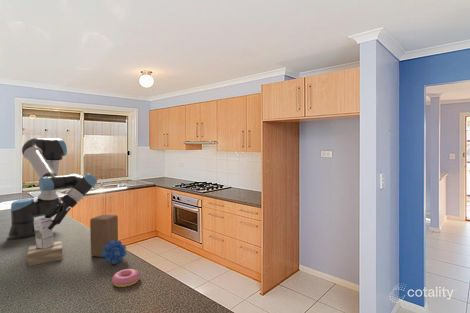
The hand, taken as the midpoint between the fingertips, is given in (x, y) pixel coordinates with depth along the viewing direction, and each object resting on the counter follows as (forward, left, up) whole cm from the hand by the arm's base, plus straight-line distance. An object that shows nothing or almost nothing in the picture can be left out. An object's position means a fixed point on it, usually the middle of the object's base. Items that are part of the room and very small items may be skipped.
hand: (39, 231), depth 136 cm
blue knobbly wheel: (+35, +23, -14) cm, 44 cm away
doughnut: (+55, +19, -15) cm, 60 cm away
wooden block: (+17, +25, -14) cm, 34 cm away
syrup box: (0, +2, -9) cm, 9 cm away
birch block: (0, +2, -15) cm, 15 cm away
